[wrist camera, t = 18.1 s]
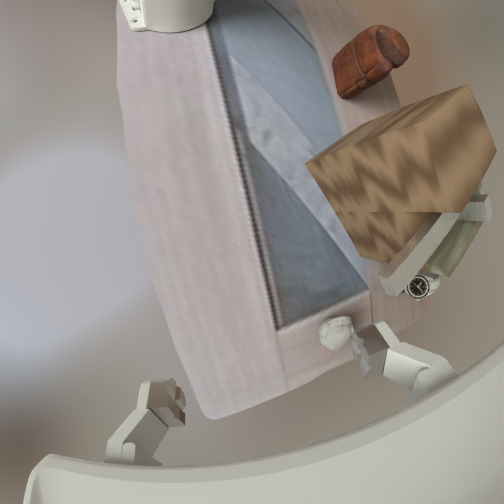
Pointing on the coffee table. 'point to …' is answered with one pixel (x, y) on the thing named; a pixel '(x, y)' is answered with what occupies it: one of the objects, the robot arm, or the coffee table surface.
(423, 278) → the watch
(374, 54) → the wooden figurine
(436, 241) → the aluminium bracket
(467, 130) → the stepped shelf
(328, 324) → the white rough round lump
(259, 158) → the coffee table surface
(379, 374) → the robot arm
